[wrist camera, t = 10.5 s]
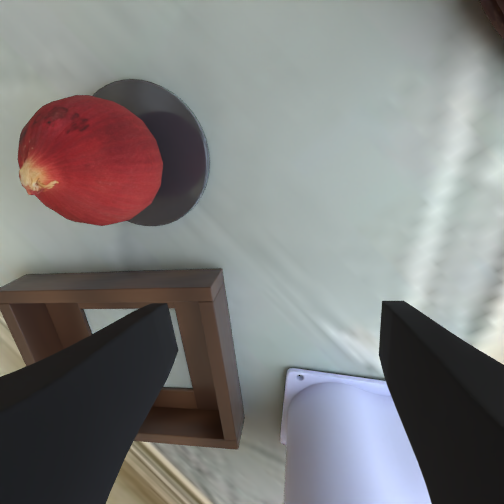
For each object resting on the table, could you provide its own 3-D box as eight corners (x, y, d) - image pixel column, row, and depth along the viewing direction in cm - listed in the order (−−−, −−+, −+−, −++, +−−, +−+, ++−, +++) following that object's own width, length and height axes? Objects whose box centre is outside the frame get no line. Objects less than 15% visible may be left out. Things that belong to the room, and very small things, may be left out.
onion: (75, 146, 18) (-85, 151, 10) (138, 81, 16) (-2, 31, 8) (138, 223, 19) (34, 277, 12) (204, 172, 17) (130, 196, 10)
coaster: (208, 82, 16) (205, 79, 15) (211, 228, 19) (208, 231, 18) (70, 79, 17) (62, 77, 16) (93, 219, 20) (87, 221, 19)
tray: (222, 268, 20) (210, 287, 17) (244, 417, 25) (238, 450, 22) (26, 274, 23) (-9, 291, 20) (80, 407, 28) (58, 434, 25)
